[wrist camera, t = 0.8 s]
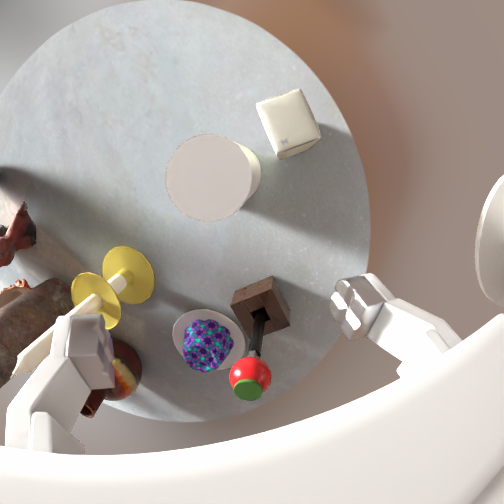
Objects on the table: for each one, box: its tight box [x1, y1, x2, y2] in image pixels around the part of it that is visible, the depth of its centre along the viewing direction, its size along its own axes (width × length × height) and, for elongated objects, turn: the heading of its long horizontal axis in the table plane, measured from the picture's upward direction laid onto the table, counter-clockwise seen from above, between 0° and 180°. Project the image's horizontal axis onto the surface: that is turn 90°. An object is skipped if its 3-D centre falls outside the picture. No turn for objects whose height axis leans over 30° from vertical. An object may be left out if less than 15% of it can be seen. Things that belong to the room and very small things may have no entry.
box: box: [256, 89, 321, 160], centre depth 28 cm, size 5×4×13 cm
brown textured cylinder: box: [0, 278, 75, 388], centre depth 33 cm, size 10×10×27 cm
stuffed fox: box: [0, 199, 36, 267], centre depth 37 cm, size 8×11×12 cm
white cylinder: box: [165, 134, 261, 222], centre depth 31 cm, size 8×8×12 cm
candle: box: [10, 246, 155, 378], centre depth 30 cm, size 10×10×27 cm
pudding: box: [172, 309, 245, 372], centre depth 42 cm, size 12×12×5 cm
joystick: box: [230, 307, 271, 401], centre depth 33 cm, size 4×4×19 cm
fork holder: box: [230, 276, 290, 339], centre depth 39 cm, size 6×6×4 cm
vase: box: [80, 339, 142, 418], centre depth 41 cm, size 11×11×15 cm
